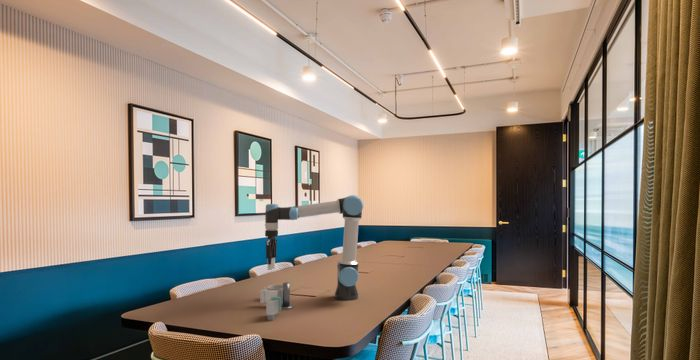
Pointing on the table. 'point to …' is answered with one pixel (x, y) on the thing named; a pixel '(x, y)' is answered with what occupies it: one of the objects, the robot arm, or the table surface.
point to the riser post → (286, 296)
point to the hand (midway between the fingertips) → (271, 269)
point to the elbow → (270, 295)
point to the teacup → (274, 287)
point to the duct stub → (273, 307)
